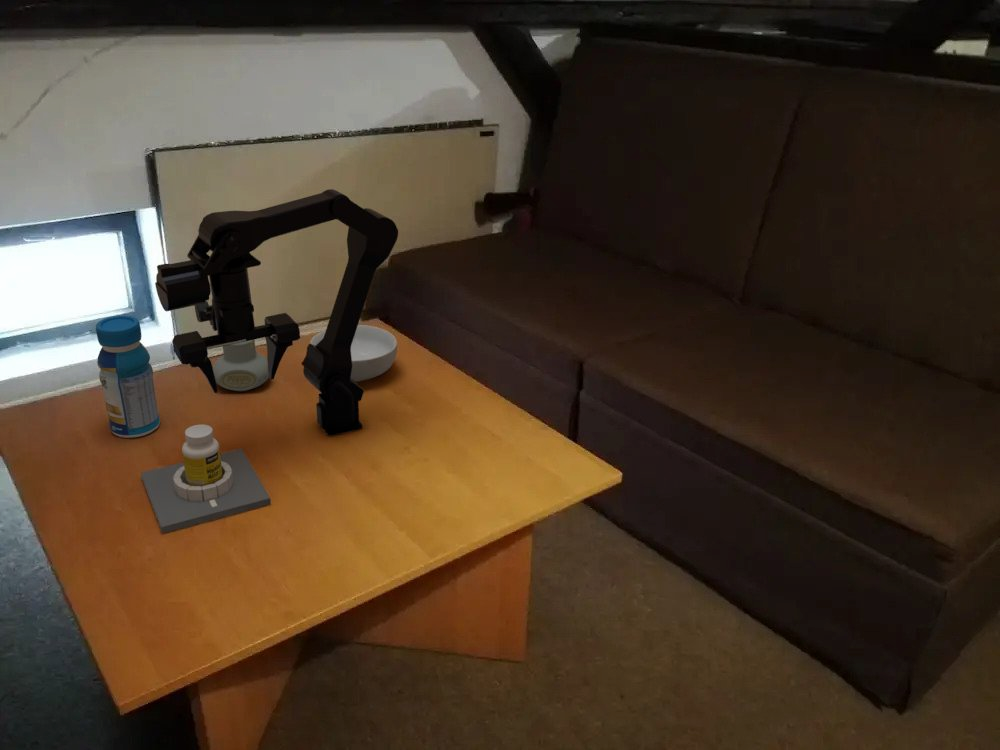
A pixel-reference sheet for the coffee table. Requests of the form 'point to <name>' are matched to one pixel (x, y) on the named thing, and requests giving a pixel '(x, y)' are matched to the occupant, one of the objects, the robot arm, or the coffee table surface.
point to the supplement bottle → (201, 456)
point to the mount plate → (204, 493)
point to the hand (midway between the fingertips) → (243, 385)
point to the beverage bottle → (126, 377)
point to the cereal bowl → (368, 351)
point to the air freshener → (241, 367)
